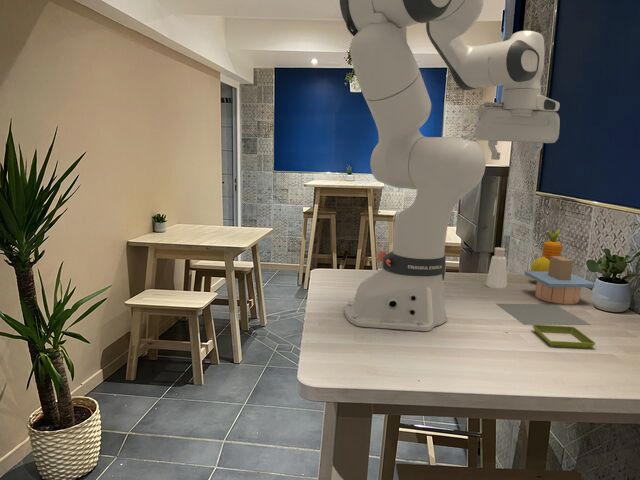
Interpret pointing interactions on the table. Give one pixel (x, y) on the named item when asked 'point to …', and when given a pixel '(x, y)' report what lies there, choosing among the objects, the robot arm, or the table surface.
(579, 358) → the table surface
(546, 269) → the lemon
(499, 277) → the salt shaker
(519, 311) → the mat
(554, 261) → the lid
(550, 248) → the carrot
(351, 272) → the table surface
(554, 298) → the bowl
